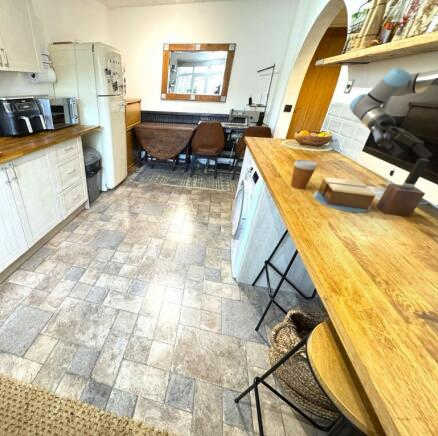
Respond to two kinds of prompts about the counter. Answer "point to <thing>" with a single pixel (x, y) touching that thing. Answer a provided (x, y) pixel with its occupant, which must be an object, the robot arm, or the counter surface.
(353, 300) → the counter surface
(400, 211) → the knife block
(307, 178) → the disposable coffee cup
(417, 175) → the cake knife
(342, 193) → the cake
